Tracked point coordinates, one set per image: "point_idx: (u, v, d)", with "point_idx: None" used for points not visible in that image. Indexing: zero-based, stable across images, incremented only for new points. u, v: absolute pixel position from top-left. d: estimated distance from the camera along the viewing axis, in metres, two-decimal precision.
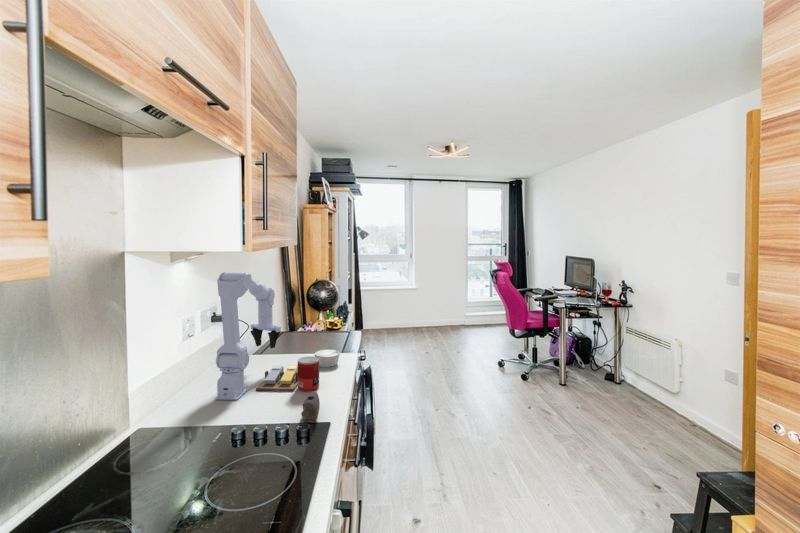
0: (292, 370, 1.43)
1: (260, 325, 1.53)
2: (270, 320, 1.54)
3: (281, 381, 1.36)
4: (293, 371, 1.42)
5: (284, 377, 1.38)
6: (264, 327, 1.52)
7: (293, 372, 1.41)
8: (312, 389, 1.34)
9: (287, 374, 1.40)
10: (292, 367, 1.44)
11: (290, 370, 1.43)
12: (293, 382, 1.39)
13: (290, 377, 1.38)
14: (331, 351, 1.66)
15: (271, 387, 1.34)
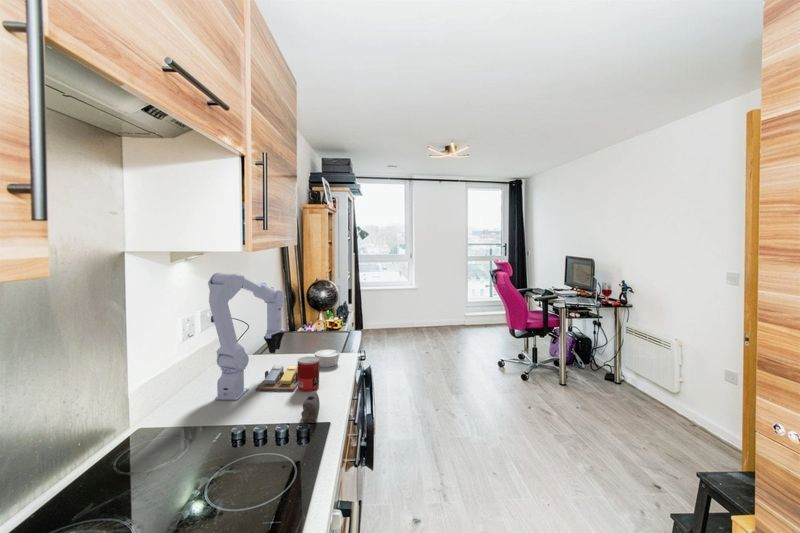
0: (292, 370, 1.43)
1: None
2: (271, 324, 1.46)
3: (281, 381, 1.36)
4: (293, 371, 1.42)
5: (284, 377, 1.38)
6: None
7: (293, 372, 1.41)
8: (312, 389, 1.34)
9: (287, 374, 1.40)
10: (292, 367, 1.44)
11: (290, 370, 1.43)
12: (293, 382, 1.39)
13: (290, 377, 1.38)
14: (331, 351, 1.66)
15: (271, 387, 1.34)
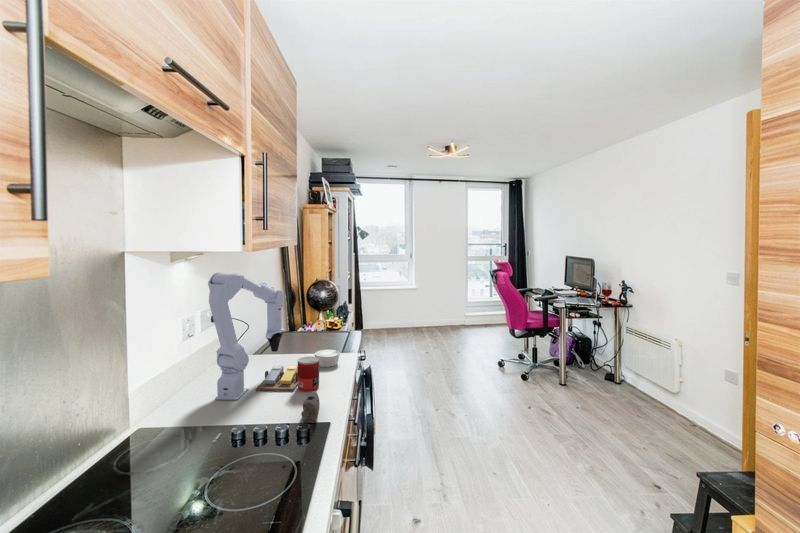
0: (292, 370, 1.43)
1: None
2: (271, 324, 1.46)
3: (281, 381, 1.36)
4: (293, 371, 1.42)
5: (284, 377, 1.38)
6: (267, 330, 1.47)
7: (293, 372, 1.41)
8: (312, 389, 1.34)
9: (287, 374, 1.40)
10: (292, 367, 1.44)
11: (290, 370, 1.43)
12: (293, 382, 1.39)
13: (290, 377, 1.38)
14: (331, 351, 1.66)
15: (271, 387, 1.34)
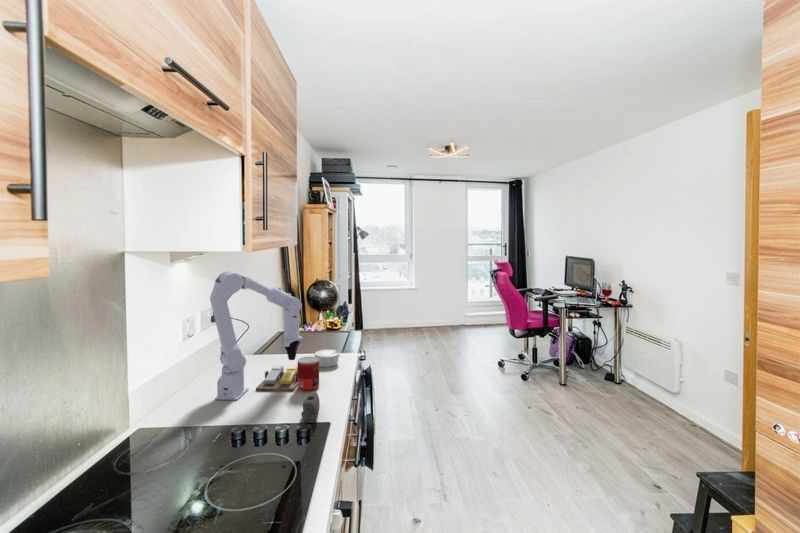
0: (292, 370, 1.43)
1: None
2: (289, 332, 1.41)
3: (281, 381, 1.36)
4: (293, 371, 1.42)
5: (284, 377, 1.38)
6: (284, 338, 1.43)
7: (293, 372, 1.41)
8: (312, 389, 1.34)
9: (287, 374, 1.40)
10: (292, 367, 1.44)
11: (290, 370, 1.43)
12: (293, 382, 1.39)
13: (290, 377, 1.38)
14: (331, 351, 1.66)
15: (271, 387, 1.34)
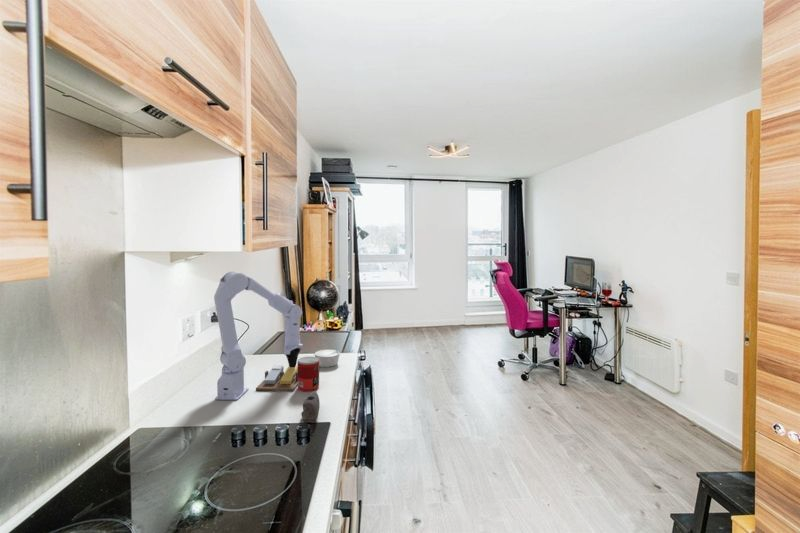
0: (292, 370, 1.43)
1: None
2: (289, 339, 1.41)
3: (281, 381, 1.36)
4: (293, 371, 1.42)
5: (284, 377, 1.38)
6: None
7: (293, 372, 1.41)
8: (312, 389, 1.34)
9: (287, 374, 1.40)
10: (292, 367, 1.44)
11: (290, 370, 1.43)
12: (293, 382, 1.39)
13: (290, 377, 1.38)
14: (331, 351, 1.66)
15: (271, 387, 1.34)
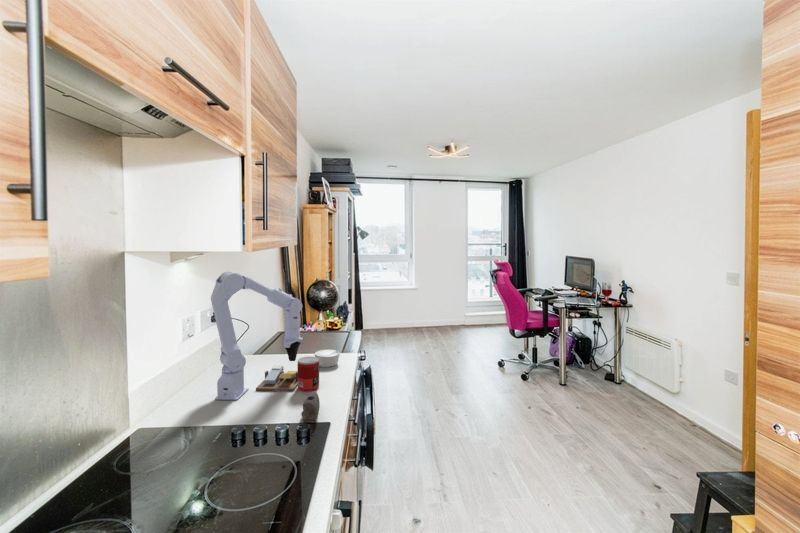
0: (292, 372, 1.43)
1: None
2: (289, 333, 1.41)
3: (281, 375, 1.36)
4: (293, 372, 1.42)
5: (284, 373, 1.38)
6: (284, 339, 1.43)
7: (293, 372, 1.42)
8: (312, 389, 1.34)
9: (287, 373, 1.40)
10: (292, 371, 1.45)
11: (290, 372, 1.43)
12: (293, 382, 1.39)
13: (290, 373, 1.38)
14: (331, 351, 1.66)
15: (271, 387, 1.34)
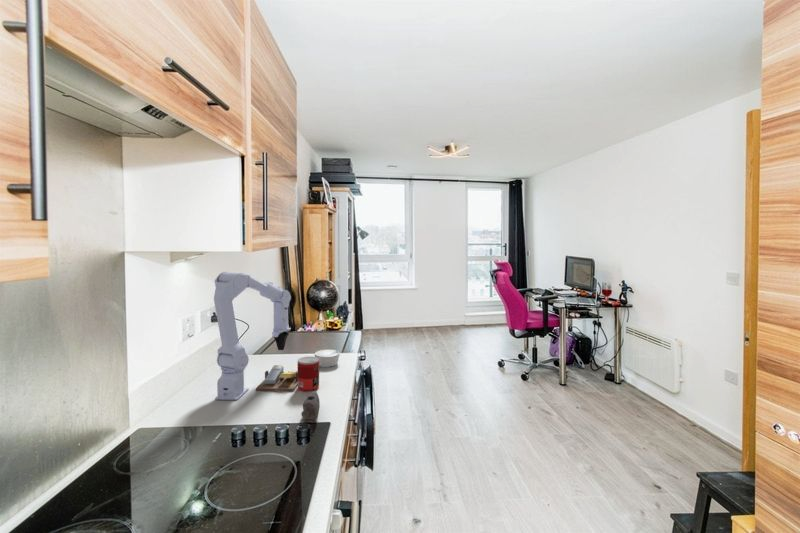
0: (292, 372, 1.43)
1: None
2: (278, 323, 1.48)
3: (281, 374, 1.36)
4: (293, 372, 1.42)
5: (284, 373, 1.38)
6: (273, 329, 1.49)
7: (293, 372, 1.42)
8: (312, 389, 1.34)
9: None
10: (292, 371, 1.45)
11: (290, 372, 1.43)
12: (293, 382, 1.39)
13: (290, 373, 1.38)
14: (331, 351, 1.66)
15: (271, 387, 1.34)
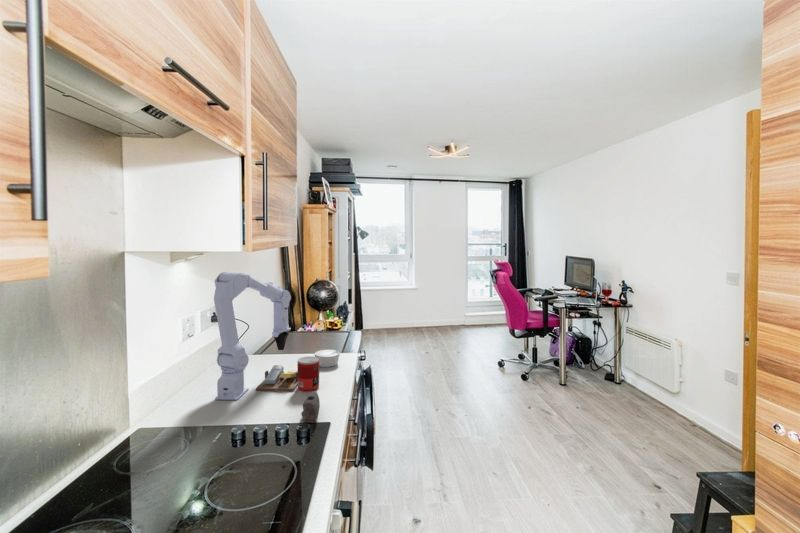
0: (292, 372, 1.43)
1: None
2: (278, 323, 1.48)
3: (281, 374, 1.36)
4: (293, 372, 1.42)
5: None
6: (273, 329, 1.49)
7: (293, 372, 1.42)
8: (312, 389, 1.34)
9: None
10: (292, 371, 1.45)
11: (290, 372, 1.43)
12: (293, 382, 1.39)
13: (290, 373, 1.38)
14: (331, 351, 1.66)
15: (271, 387, 1.34)
